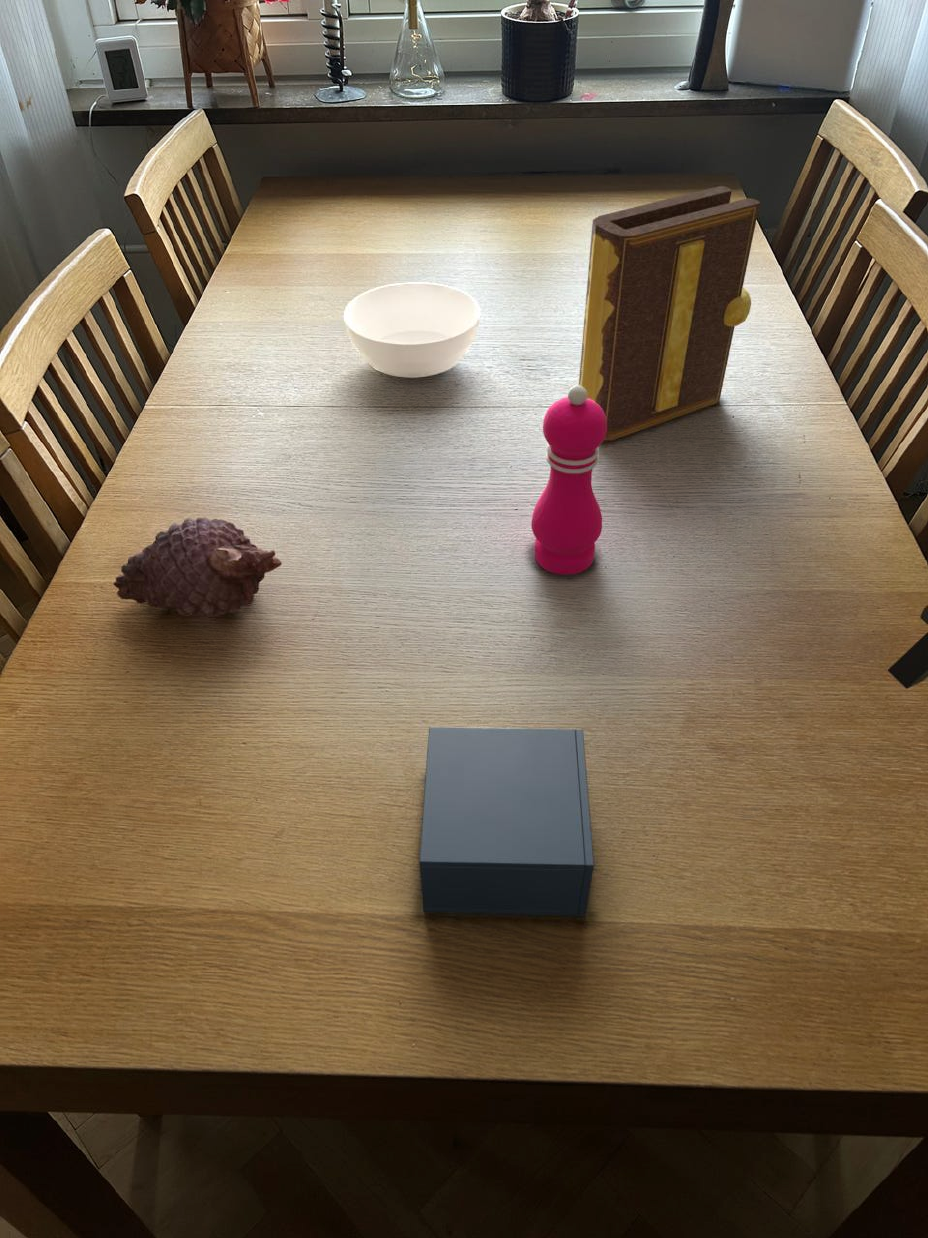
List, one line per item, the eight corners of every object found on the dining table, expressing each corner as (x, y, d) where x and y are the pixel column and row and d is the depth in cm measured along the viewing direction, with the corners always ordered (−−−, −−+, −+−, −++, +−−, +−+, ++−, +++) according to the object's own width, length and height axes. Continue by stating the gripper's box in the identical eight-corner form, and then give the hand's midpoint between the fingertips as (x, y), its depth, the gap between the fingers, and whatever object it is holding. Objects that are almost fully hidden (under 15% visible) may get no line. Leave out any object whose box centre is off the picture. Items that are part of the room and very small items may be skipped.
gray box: (583, 729, 72) (429, 726, 72) (594, 865, 63) (419, 862, 64) (576, 783, 77) (432, 780, 77) (586, 916, 68) (423, 913, 69)
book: (604, 449, 112) (628, 242, 95) (564, 417, 118) (579, 215, 100) (742, 400, 120) (786, 200, 103) (698, 372, 126) (734, 177, 108)
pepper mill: (583, 529, 101) (600, 362, 87) (608, 571, 96) (630, 400, 82) (520, 541, 100) (527, 373, 86) (542, 584, 95) (554, 413, 81)
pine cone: (107, 646, 89) (75, 545, 87) (158, 620, 98) (130, 529, 96) (276, 614, 85) (247, 507, 83) (312, 590, 94) (287, 494, 92)
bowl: (327, 384, 124) (321, 333, 119) (376, 323, 137) (372, 275, 132) (458, 404, 120) (457, 352, 115) (496, 339, 133) (496, 290, 128)
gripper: (1424, 420, 41) (1013, 746, 55) (1165, 261, 47) (850, 592, 60) (1427, 416, 36) (972, 777, 50) (1136, 238, 42) (798, 606, 55)
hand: (905, 675), depth 55 cm, fingers closed
